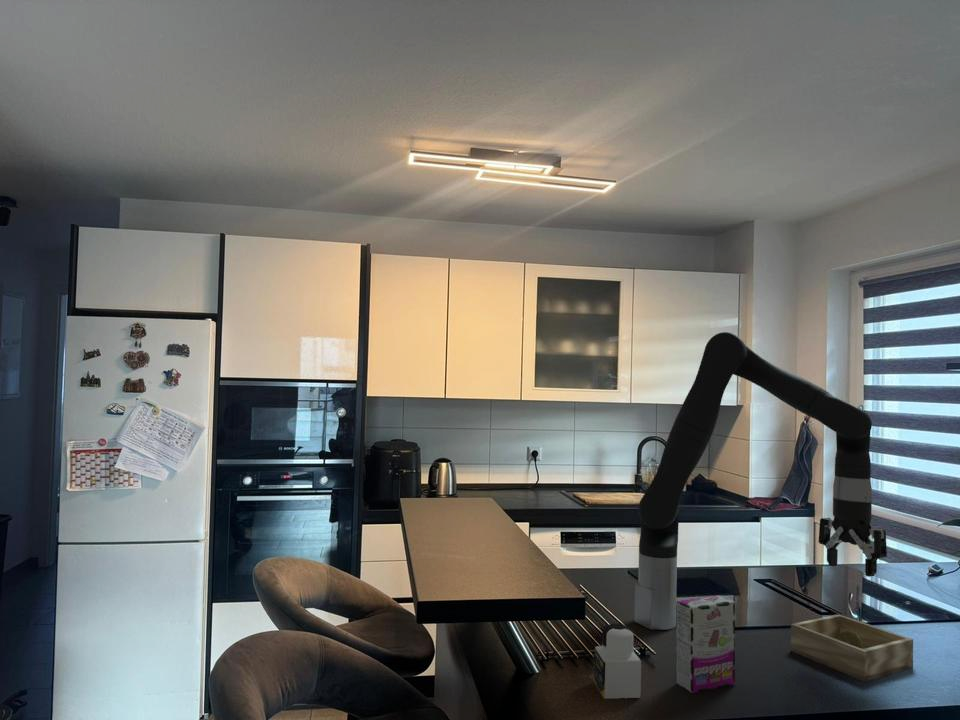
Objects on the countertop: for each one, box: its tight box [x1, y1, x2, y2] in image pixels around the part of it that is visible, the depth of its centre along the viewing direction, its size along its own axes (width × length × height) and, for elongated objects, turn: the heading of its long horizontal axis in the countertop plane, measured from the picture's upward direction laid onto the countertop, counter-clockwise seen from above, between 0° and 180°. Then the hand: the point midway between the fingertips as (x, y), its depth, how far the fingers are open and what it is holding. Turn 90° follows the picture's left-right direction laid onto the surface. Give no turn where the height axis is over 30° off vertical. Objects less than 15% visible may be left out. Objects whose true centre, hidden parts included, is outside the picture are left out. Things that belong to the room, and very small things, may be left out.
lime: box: [837, 631, 862, 649], centre depth 146 cm, size 4×5×5 cm
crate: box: [790, 613, 914, 683], centre depth 146 cm, size 17×17×6 cm
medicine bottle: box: [593, 623, 642, 700], centre depth 127 cm, size 7×7×12 cm
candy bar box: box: [675, 594, 736, 694], centre depth 131 cm, size 11×5×16 cm, turn 114°
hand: (851, 570), depth 146 cm, fingers open, 8 cm apart
